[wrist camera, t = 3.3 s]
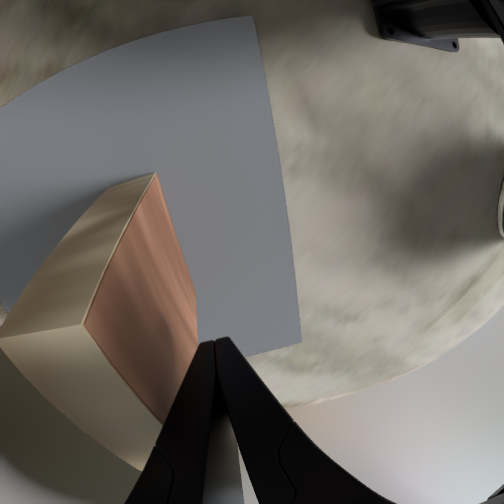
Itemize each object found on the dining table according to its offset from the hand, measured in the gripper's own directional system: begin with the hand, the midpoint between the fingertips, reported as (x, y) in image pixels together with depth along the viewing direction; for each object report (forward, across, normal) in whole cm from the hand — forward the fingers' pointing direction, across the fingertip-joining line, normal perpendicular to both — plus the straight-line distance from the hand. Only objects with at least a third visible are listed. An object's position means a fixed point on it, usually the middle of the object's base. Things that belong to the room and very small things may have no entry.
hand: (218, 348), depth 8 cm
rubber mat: (+8, +6, 0) cm, 10 cm away
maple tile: (+8, +3, 0) cm, 8 cm away
